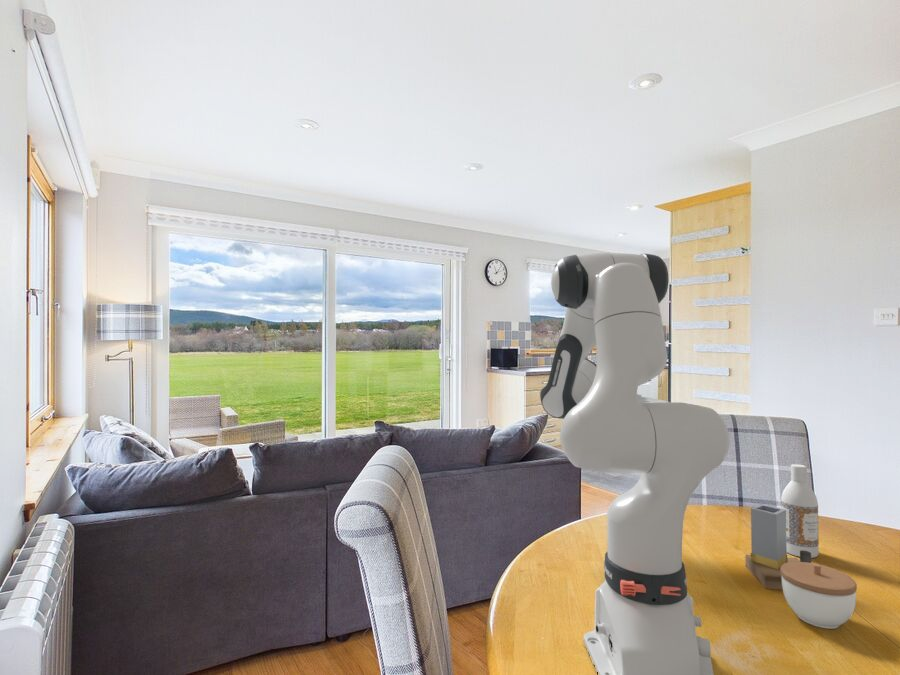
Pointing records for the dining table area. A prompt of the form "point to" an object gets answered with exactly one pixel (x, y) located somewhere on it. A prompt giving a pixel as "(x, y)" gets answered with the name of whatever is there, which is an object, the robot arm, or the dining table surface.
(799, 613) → the lidded jar
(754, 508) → the sleeve
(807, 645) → the dining table surface
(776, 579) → the pin block
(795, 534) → the bath foam
